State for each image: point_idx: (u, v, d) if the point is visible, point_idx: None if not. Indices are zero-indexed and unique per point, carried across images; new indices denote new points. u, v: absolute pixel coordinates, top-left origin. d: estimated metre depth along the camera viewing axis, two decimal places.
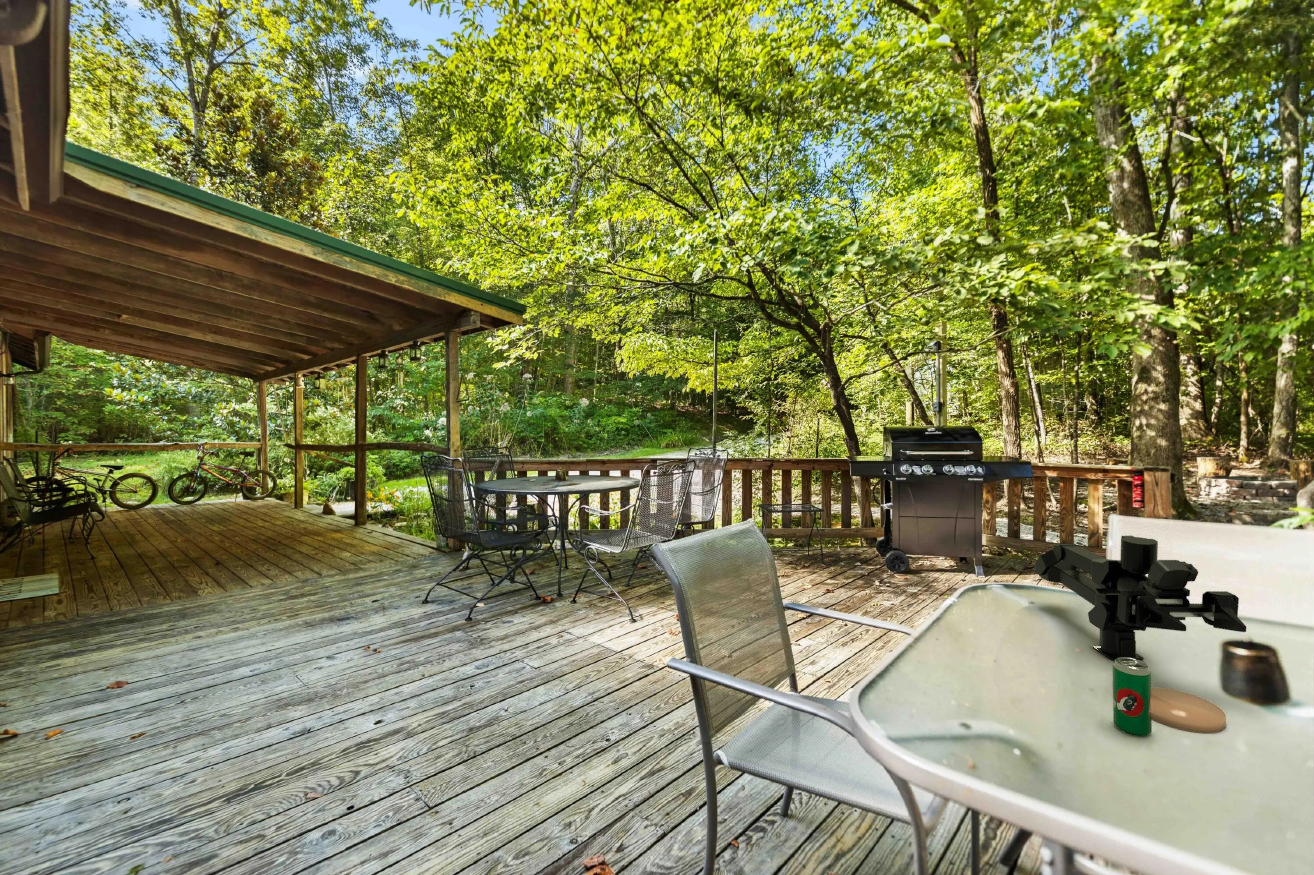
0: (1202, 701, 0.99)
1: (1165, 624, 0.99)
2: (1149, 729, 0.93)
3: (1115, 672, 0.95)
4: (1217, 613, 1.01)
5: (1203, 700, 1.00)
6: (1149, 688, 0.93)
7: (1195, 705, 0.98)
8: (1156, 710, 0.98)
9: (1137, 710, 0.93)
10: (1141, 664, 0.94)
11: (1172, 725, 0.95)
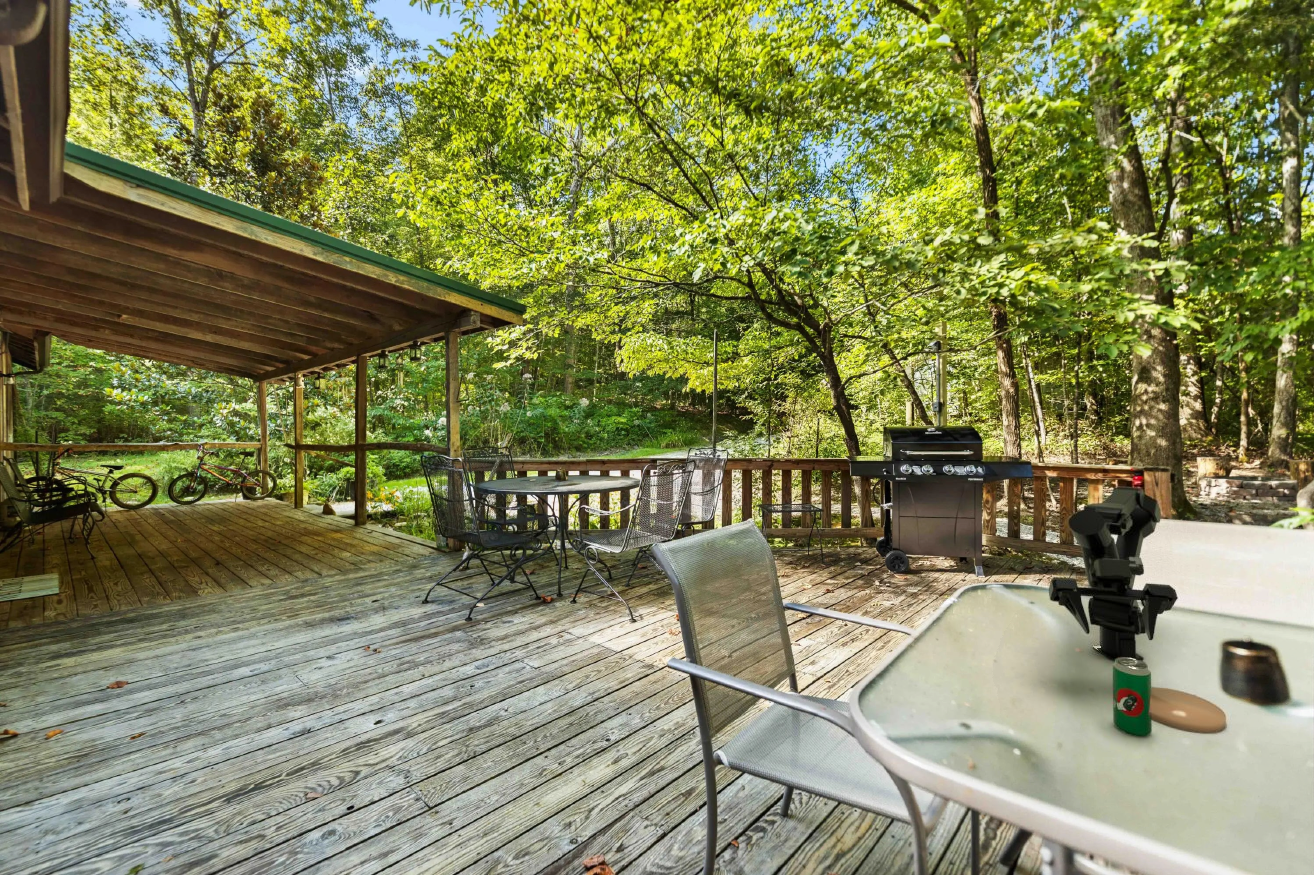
0: (1202, 701, 0.99)
1: (1077, 619, 1.06)
2: (1149, 729, 0.93)
3: (1115, 672, 0.95)
4: (1145, 607, 1.03)
5: (1203, 700, 1.00)
6: (1149, 688, 0.93)
7: (1195, 705, 0.98)
8: (1156, 710, 0.98)
9: (1137, 710, 0.93)
10: (1141, 664, 0.94)
11: (1172, 725, 0.95)
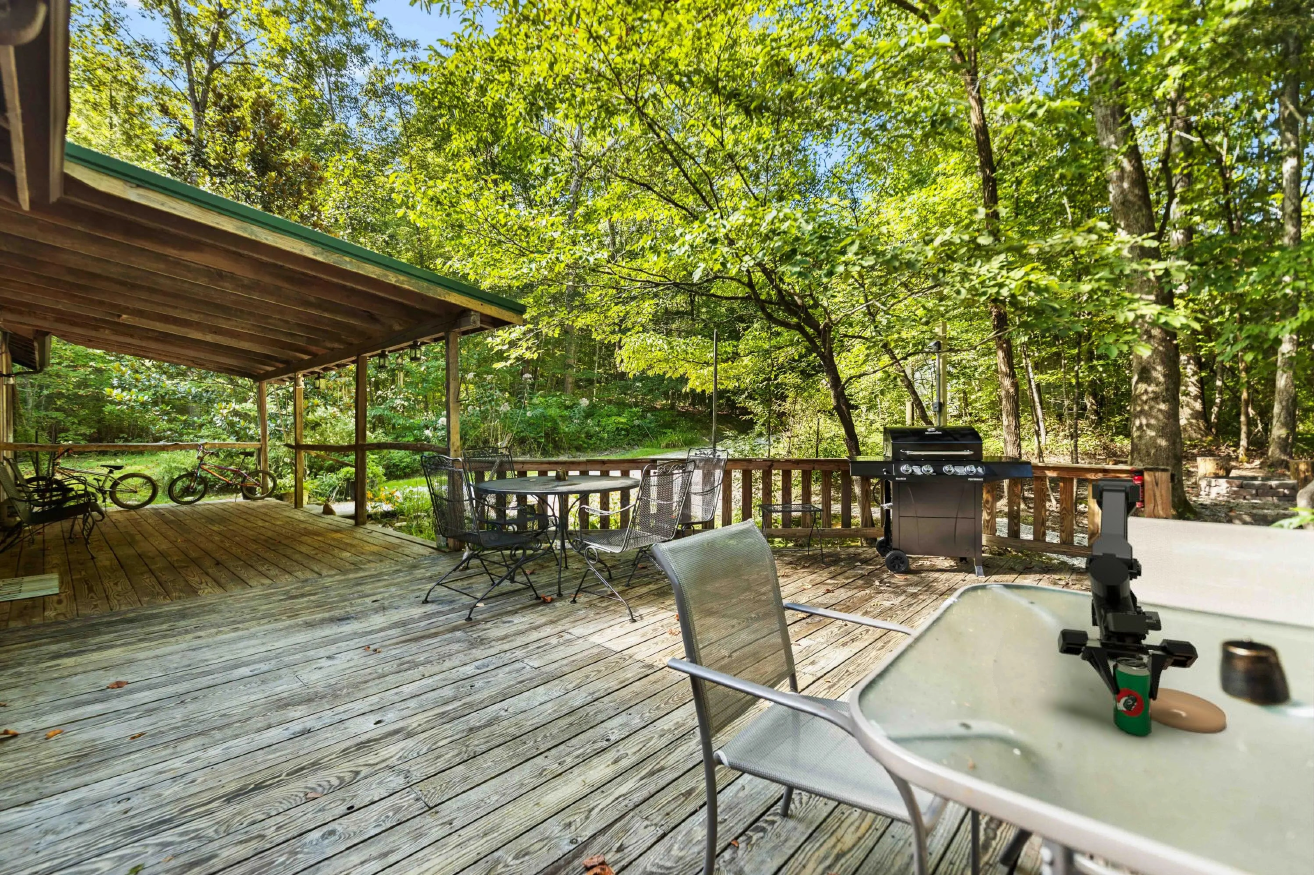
0: (1202, 701, 0.99)
1: (1103, 677, 0.98)
2: (1149, 729, 0.93)
3: (1115, 672, 0.95)
4: (1148, 663, 0.96)
5: (1203, 700, 1.00)
6: (1149, 688, 0.93)
7: (1195, 705, 0.98)
8: (1156, 710, 0.98)
9: (1137, 710, 0.93)
10: (1141, 664, 0.94)
11: (1172, 725, 0.95)
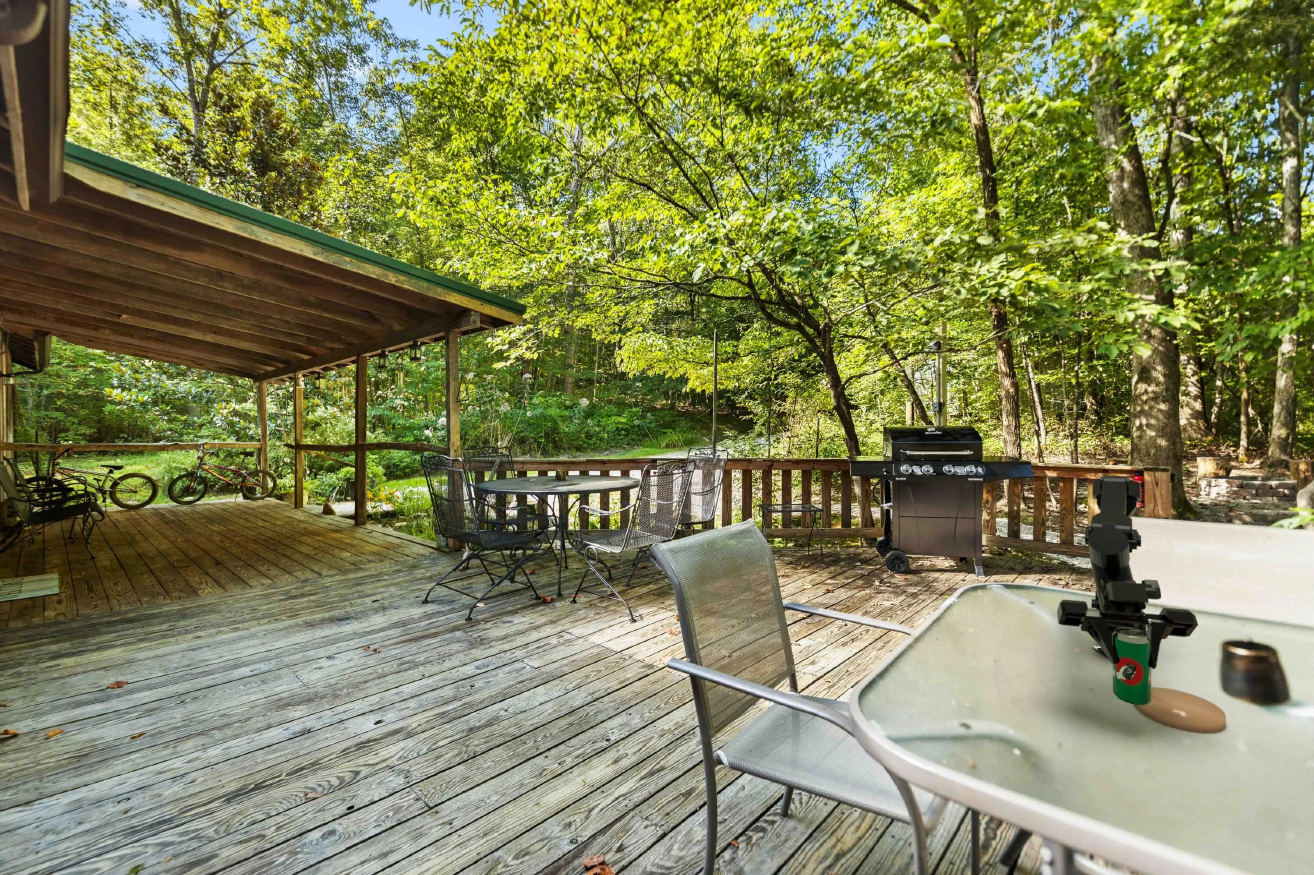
0: (1202, 701, 0.99)
1: (1102, 647, 0.97)
2: (1149, 698, 0.93)
3: (1114, 641, 0.95)
4: (1148, 632, 0.96)
5: (1203, 700, 1.00)
6: (1149, 656, 0.92)
7: (1195, 705, 0.98)
8: (1156, 710, 0.98)
9: (1136, 679, 0.93)
10: (1141, 633, 0.94)
11: (1172, 725, 0.95)
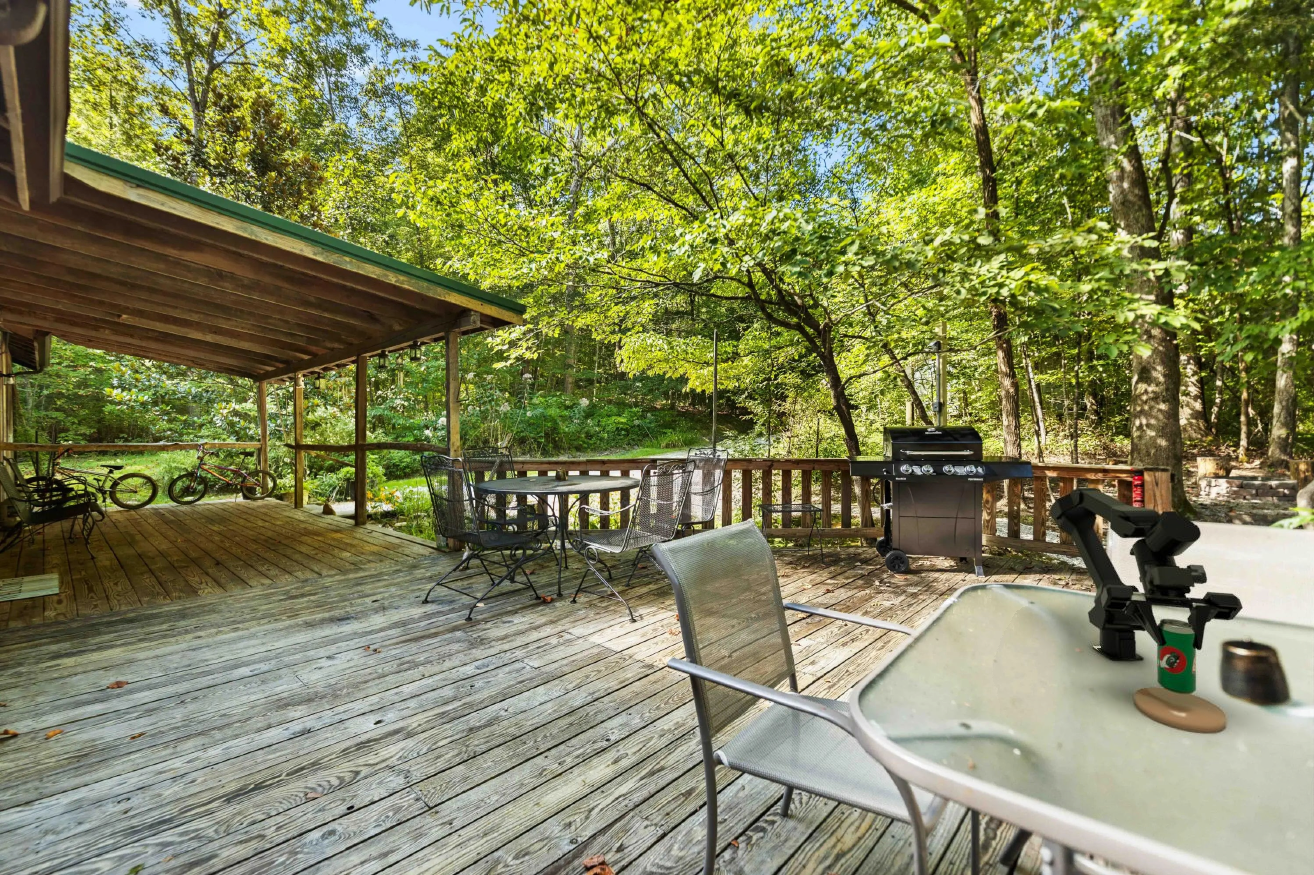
0: (1202, 701, 0.99)
1: (1148, 630, 1.01)
2: (1192, 687, 0.96)
3: None
4: (1192, 616, 0.99)
5: (1203, 700, 1.00)
6: (1193, 647, 0.96)
7: (1195, 705, 0.98)
8: (1156, 710, 0.98)
9: (1179, 667, 0.97)
10: (1186, 625, 0.98)
11: (1172, 725, 0.95)
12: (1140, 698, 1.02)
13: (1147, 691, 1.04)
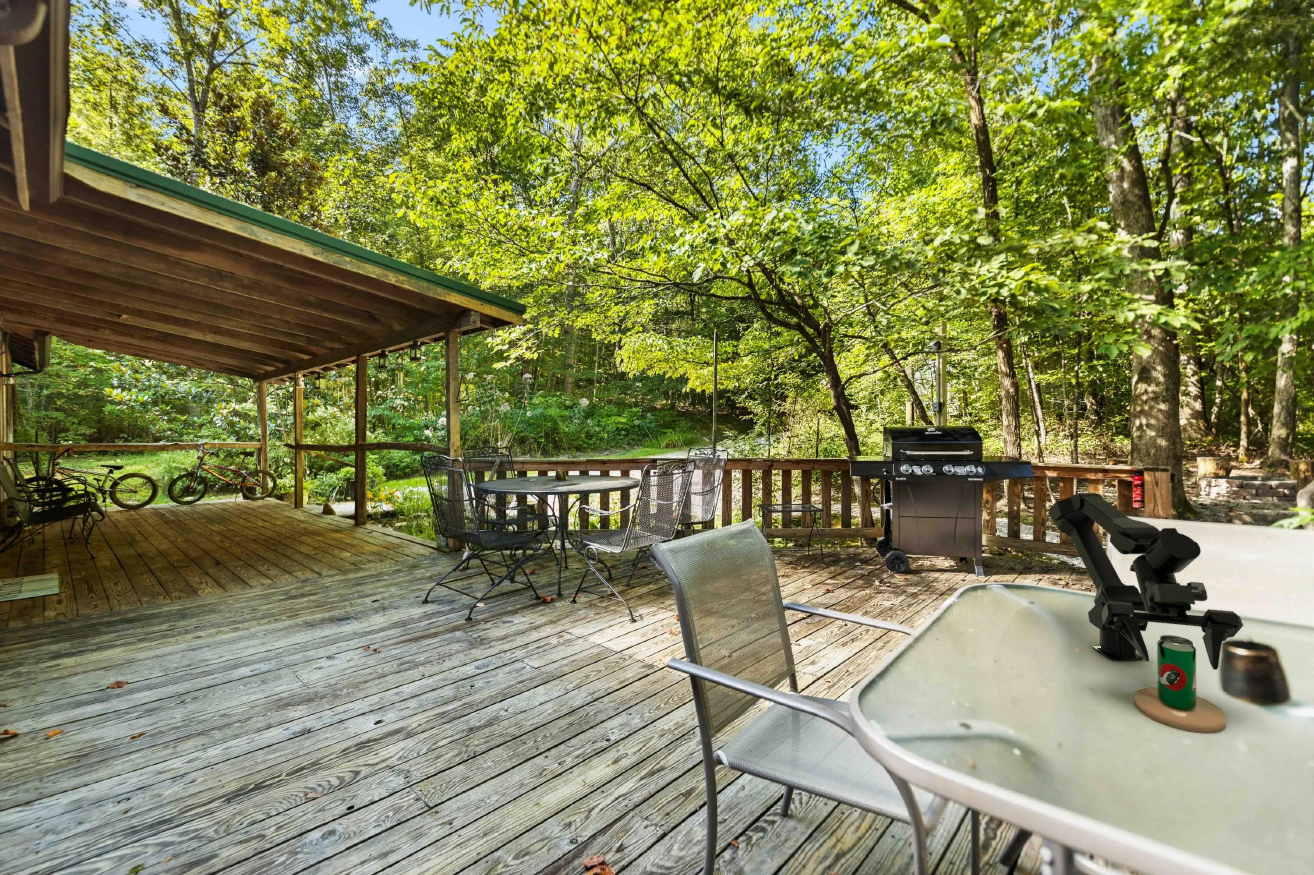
0: (1202, 701, 0.99)
1: (1135, 645, 1.02)
2: (1192, 704, 0.97)
3: (1159, 648, 0.99)
4: (1207, 634, 0.99)
5: (1203, 700, 1.00)
6: (1193, 664, 0.96)
7: None
8: (1156, 710, 0.98)
9: (1180, 684, 0.97)
10: (1186, 641, 0.98)
11: (1172, 725, 0.95)
12: (1140, 698, 1.02)
13: (1147, 691, 1.04)
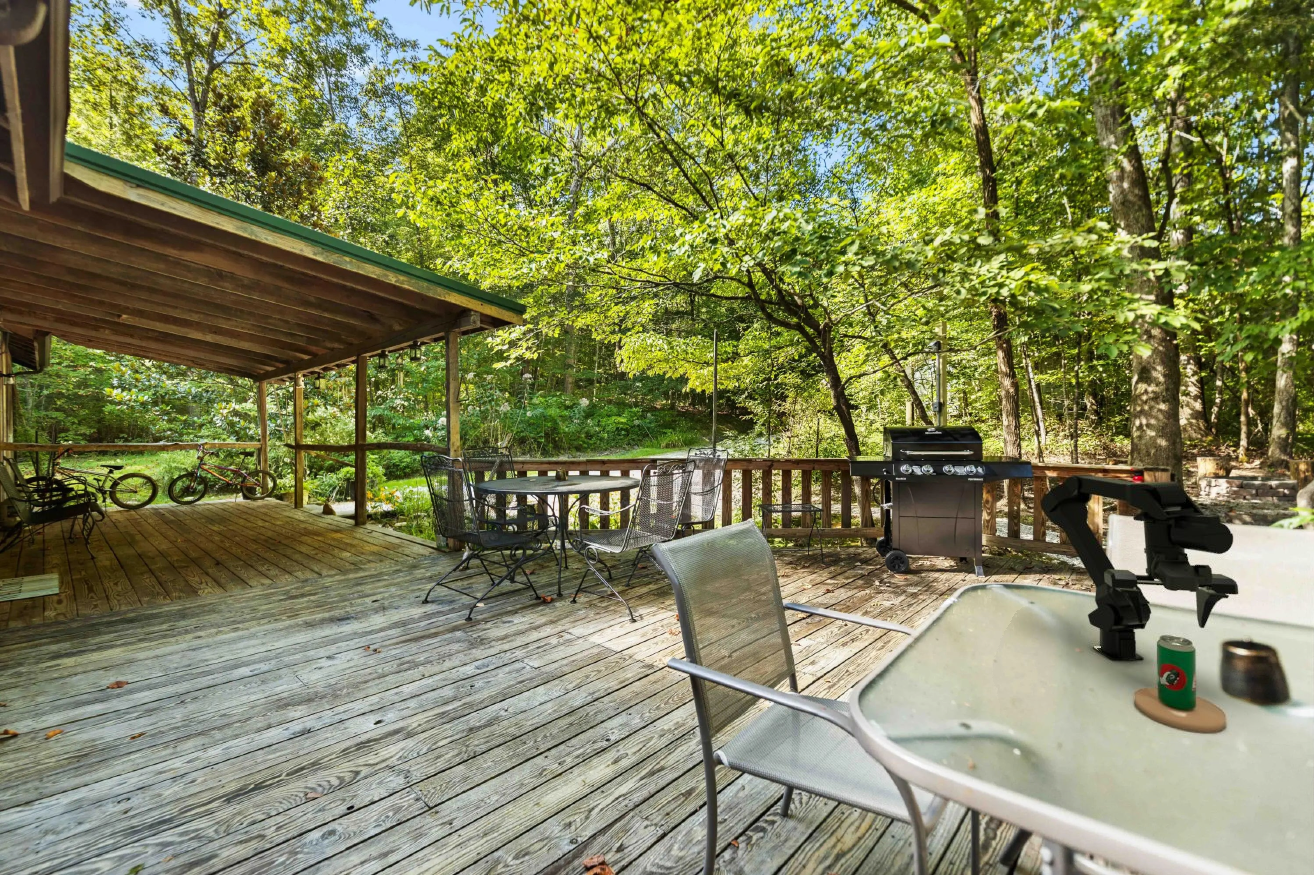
0: (1202, 701, 0.99)
1: (1131, 607, 1.11)
2: (1192, 704, 0.97)
3: (1158, 648, 0.99)
4: (1202, 595, 1.06)
5: (1203, 700, 1.00)
6: (1193, 664, 0.96)
7: None
8: (1156, 710, 0.98)
9: (1179, 684, 0.97)
10: (1186, 641, 0.98)
11: (1172, 725, 0.95)
12: (1140, 698, 1.02)
13: (1147, 691, 1.04)
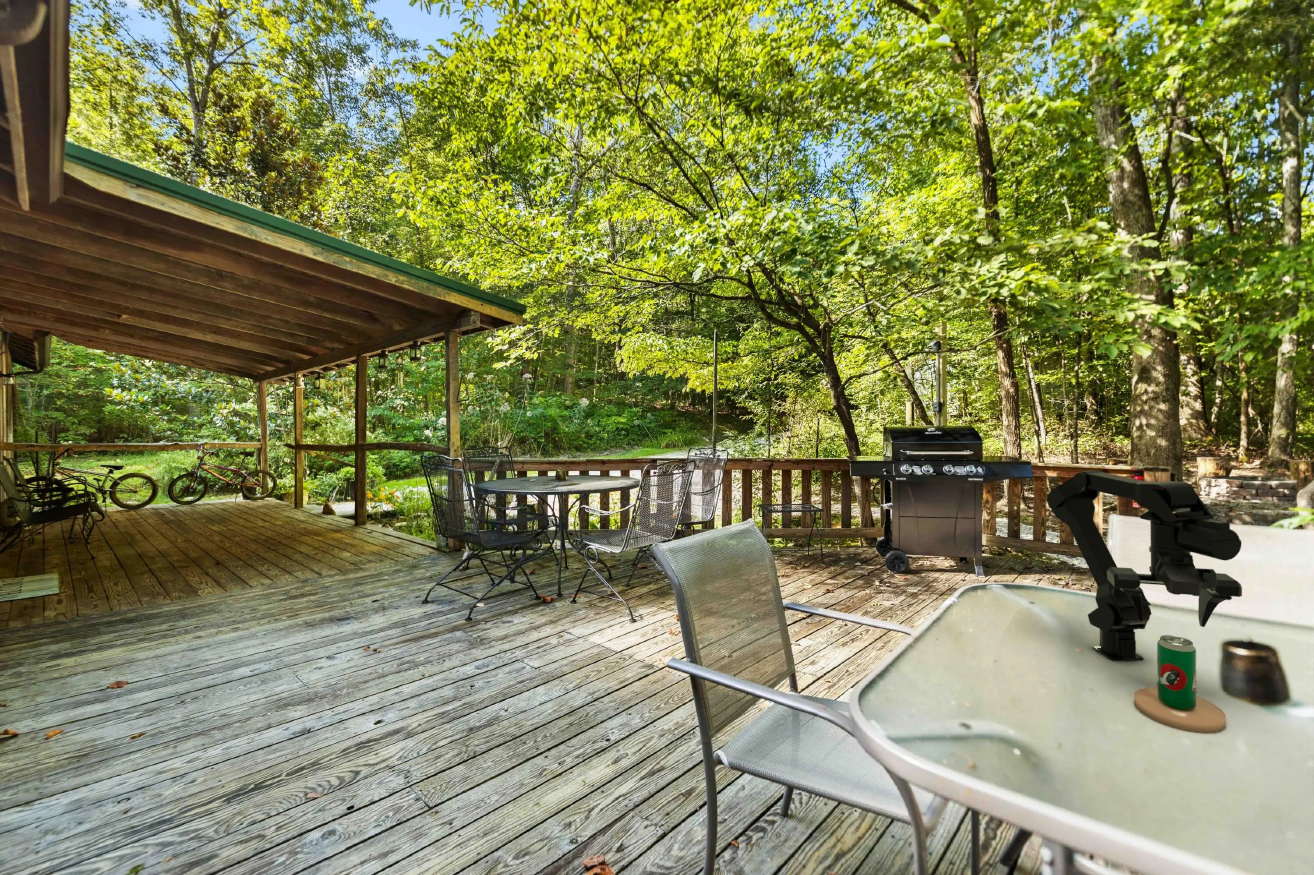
0: (1202, 701, 0.99)
1: (1132, 604, 1.11)
2: (1192, 704, 0.97)
3: (1159, 648, 0.99)
4: (1204, 595, 1.06)
5: (1203, 700, 1.00)
6: (1193, 664, 0.96)
7: None
8: (1156, 710, 0.98)
9: (1179, 684, 0.97)
10: (1186, 642, 0.98)
11: (1172, 725, 0.95)
12: (1140, 698, 1.02)
13: (1147, 691, 1.04)
